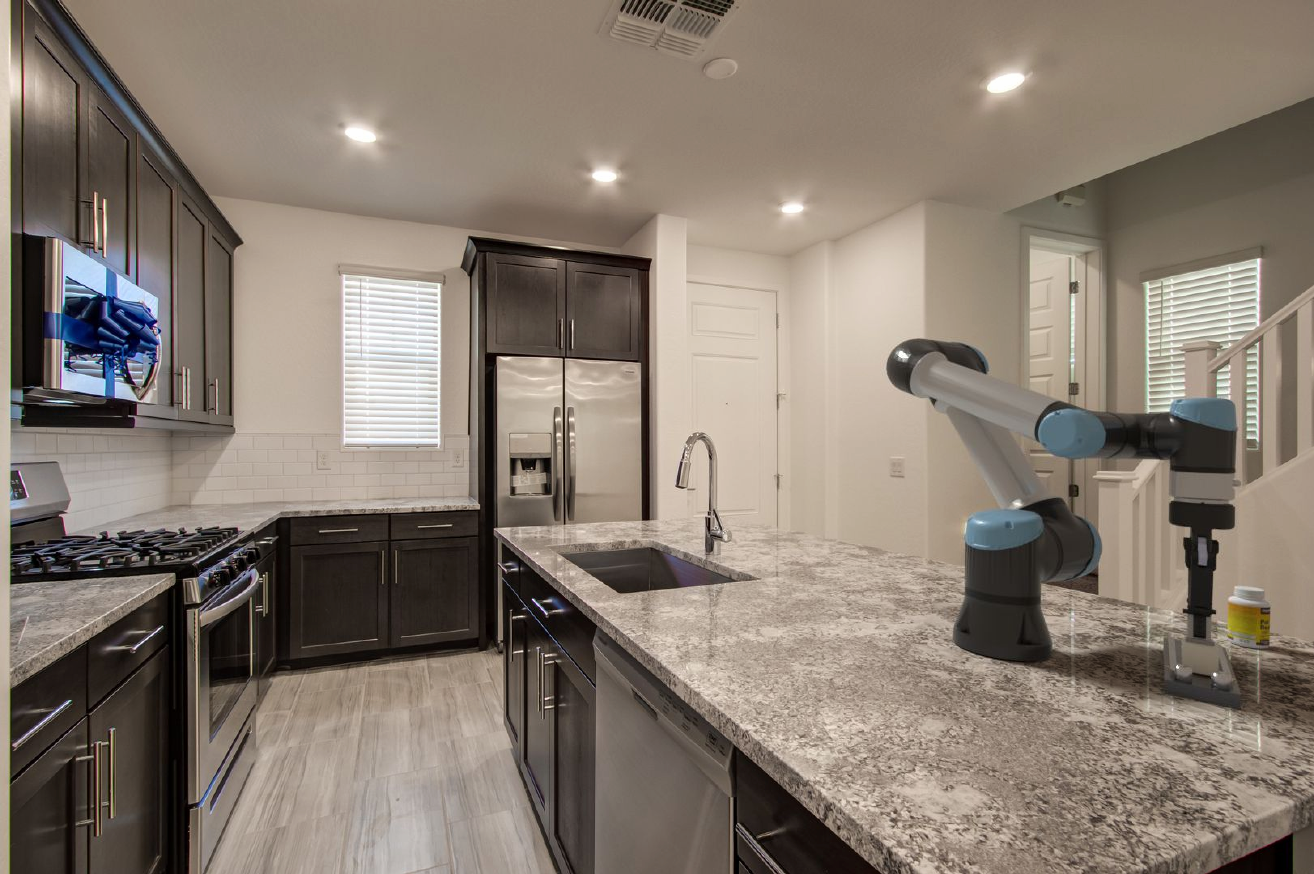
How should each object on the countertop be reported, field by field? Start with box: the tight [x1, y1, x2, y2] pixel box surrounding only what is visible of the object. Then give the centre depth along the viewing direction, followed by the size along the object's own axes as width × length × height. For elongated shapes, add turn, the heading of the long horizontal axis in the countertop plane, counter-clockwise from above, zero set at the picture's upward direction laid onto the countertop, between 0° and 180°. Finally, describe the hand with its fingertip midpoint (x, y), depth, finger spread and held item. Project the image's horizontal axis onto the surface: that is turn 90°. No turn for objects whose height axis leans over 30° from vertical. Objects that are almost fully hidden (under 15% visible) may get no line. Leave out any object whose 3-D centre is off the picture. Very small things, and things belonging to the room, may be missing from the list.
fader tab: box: [1181, 636, 1219, 676], centre depth 92 cm, size 4×3×5 cm
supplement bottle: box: [1227, 585, 1271, 650], centre depth 113 cm, size 6×6×10 cm
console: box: [1162, 636, 1242, 710], centre depth 97 cm, size 8×26×4 cm, turn 141°
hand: (1198, 657), depth 94 cm, fingers closed
